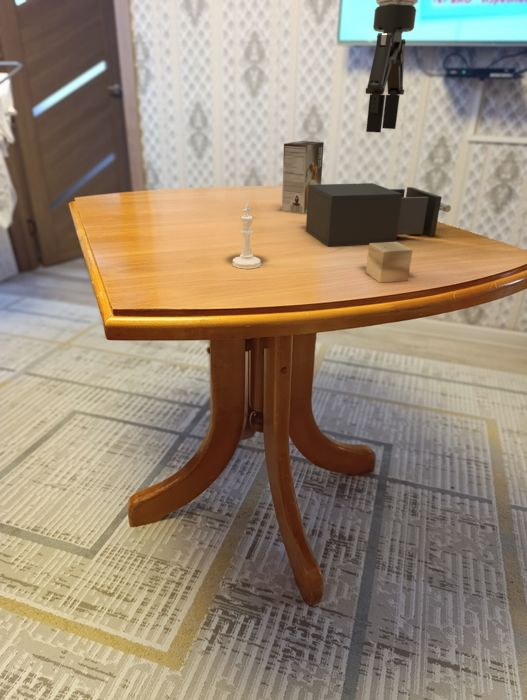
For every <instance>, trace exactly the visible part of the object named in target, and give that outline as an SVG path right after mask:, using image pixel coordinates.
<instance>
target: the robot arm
mask: <svg viewBox="0 0 527 700" xmlns="http://www.w3.org/2000/svg"><path fill="white" fill-rule="evenodd" d="M418 2H419V0H375V3H376V5H378V6H376V8H375V9H374V15H373V16H374V17H373V25H372V27H373V30H374V31H375V32H377V36H376V44H375V49H374V54H373V59H372V63H371V68H370V73H369V77H368V82H367V87H365V94H366V95H369V100H368V108H367V109H368V110H367V117H366V129H365V131H366V133H382V129H384V130H386V129H387V130H396V127H397V118H398V112H399V104H400V96H403V95H404V94H405V89H404V66H405V49H406V48H405V47H406V43H407V42H406V39H405V38H403V37H402V36H403V35H402V34H403V33H409V32H412V31H413V30H414V29H415V22H416V14H417V8H416V6H415V5H416V4H417V3H418ZM386 87H387V94H384V93H385V89H386Z"/></svg>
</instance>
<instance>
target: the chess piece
mask: <svg viewBox="0 0 527 700" xmlns="http://www.w3.org/2000/svg"><path fill="white" fill-rule="evenodd" d="M252 209H253V208H251V207H250V204H245V206H244V208H242V213H244V215H242V216H240V220H241V223H242V227H243V229H241V230H240V234H243V241H242V248H241V249H242V250H241V253H240V254H239V256H236V257H234V258H233V259H232V263H231V265H232V266H233V267H235V268H238V269H245V270H246V269H247V270H248V269H256V268H259V267H261V266H262V263H261V261H262V260H261V259H260V258H259V257H256V256H254V254H253V253H252V245H251V236H250V235H251V234H254V230H253V229H251V226H252V224H253V223H252V222H253V220H254V217H253V216H252V215H250V212H252V211H253V210H252Z"/></svg>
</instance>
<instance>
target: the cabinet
mask: <svg viewBox="0 0 527 700" xmlns="http://www.w3.org/2000/svg"><path fill="white" fill-rule="evenodd" d="M390 189H391V188H387V187H384V186H382V185H379V184H376V183H373V182H371V183H369V182H367V183H364V182H363V183H362V182H361V183H329V184H328V183H325V184H322V183H321V184H320V185H309V187H308V204H307V213H306V221H305V232H307V233H308V234H309V235H311V236H312V237H314V238H315V239H317V240H318V241H319V242H321V243H322V244H323V245H324V246H326V247H328V248H330V247H347V246H365V245H369V243H383V242H397V236H398V235H397V228H398V221H399V214H400V207H401V200H402V194H401V193H399V192H396V191H393V190H390Z"/></svg>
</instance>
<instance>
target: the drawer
mask: <svg viewBox="0 0 527 700" xmlns="http://www.w3.org/2000/svg"><path fill="white" fill-rule="evenodd" d="M389 189H390V190H393V191H396V192H399V193H401V194H402V200H401V207H400V214H399V221H398V228H397V236H408V235H423V234H425V235H427V236H430V237H435V236H436V231H437V226H438V219H439V216H440V215H439V214H440V211H442V212H445V213H449V212H450V211H451V210H452V206H451V205H450V204H447V203H444V202H442V198H443V197H442V196H441V195H438V194H435V193H432V192H429V191H426V190H422V189H419V188H416V187H412V186H407V187H406V189H405V188H389Z"/></svg>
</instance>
